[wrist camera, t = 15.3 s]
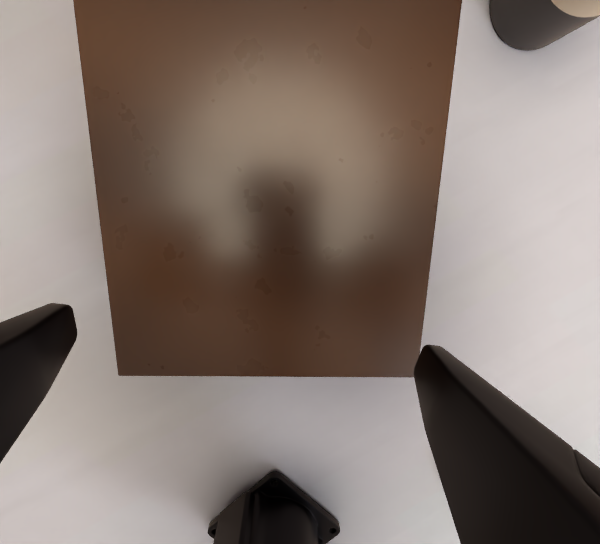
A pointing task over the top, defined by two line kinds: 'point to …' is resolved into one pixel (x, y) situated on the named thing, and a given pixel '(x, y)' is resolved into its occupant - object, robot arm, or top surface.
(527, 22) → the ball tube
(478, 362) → the top surface
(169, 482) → the top surface
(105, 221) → the cabinet
